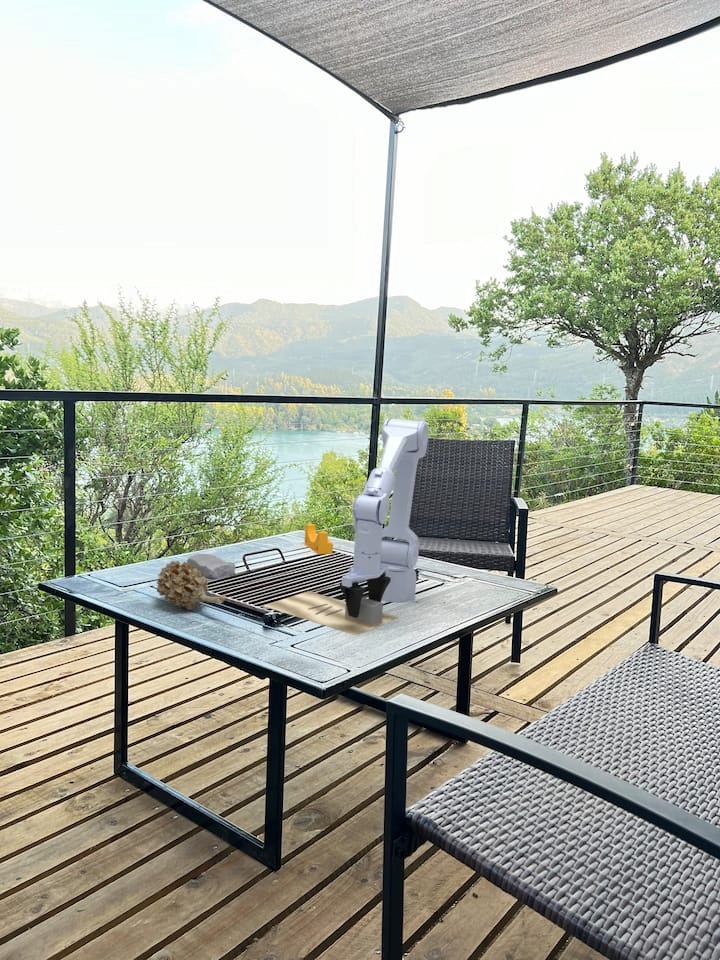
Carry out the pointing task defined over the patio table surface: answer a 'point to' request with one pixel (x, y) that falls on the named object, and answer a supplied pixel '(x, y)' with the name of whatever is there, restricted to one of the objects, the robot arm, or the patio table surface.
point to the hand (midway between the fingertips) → (363, 612)
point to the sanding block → (367, 613)
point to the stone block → (211, 566)
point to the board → (322, 611)
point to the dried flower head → (184, 586)
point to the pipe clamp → (317, 540)
